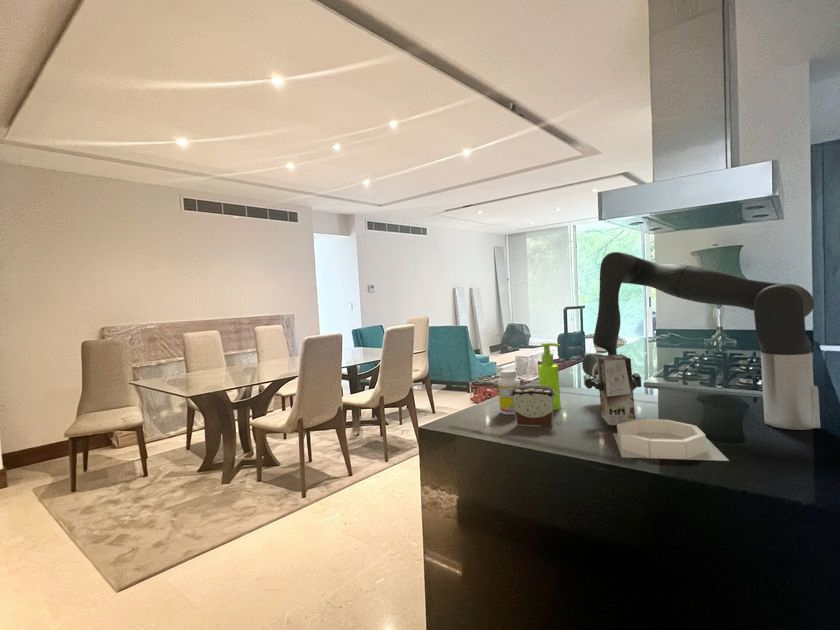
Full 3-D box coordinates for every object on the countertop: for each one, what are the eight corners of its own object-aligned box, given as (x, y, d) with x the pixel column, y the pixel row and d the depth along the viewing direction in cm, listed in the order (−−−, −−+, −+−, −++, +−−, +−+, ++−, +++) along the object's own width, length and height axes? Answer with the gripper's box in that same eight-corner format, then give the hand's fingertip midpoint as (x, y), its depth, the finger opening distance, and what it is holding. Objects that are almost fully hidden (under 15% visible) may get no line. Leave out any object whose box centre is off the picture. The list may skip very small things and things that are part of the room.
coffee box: (637, 425, 104) (631, 358, 104) (608, 425, 106) (603, 360, 105) (626, 415, 113) (622, 353, 113) (600, 415, 115) (595, 355, 114)
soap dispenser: (561, 410, 130) (556, 344, 130) (538, 409, 134) (534, 344, 134) (566, 406, 135) (561, 342, 135) (544, 404, 139) (539, 342, 138)
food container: (561, 421, 120) (558, 385, 120) (558, 427, 114) (555, 389, 114) (516, 419, 125) (514, 384, 125) (511, 425, 120) (509, 389, 119)
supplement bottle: (508, 408, 137) (505, 368, 137) (526, 411, 133) (523, 369, 132) (495, 413, 133) (492, 371, 132) (514, 416, 128) (510, 373, 128)
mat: (703, 436, 99) (703, 435, 99) (729, 462, 84) (729, 460, 84) (613, 435, 105) (613, 433, 105) (622, 458, 90) (622, 457, 90)
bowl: (691, 434, 100) (690, 419, 100) (714, 460, 85) (713, 442, 85) (615, 433, 105) (614, 419, 105) (624, 457, 90) (623, 440, 90)
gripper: (579, 362, 125) (584, 372, 109) (634, 360, 121) (647, 370, 105) (581, 388, 125) (587, 402, 109) (636, 386, 121) (650, 400, 105)
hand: (616, 386), depth 107 cm, fingers closed on coffee box, 6 cm apart
